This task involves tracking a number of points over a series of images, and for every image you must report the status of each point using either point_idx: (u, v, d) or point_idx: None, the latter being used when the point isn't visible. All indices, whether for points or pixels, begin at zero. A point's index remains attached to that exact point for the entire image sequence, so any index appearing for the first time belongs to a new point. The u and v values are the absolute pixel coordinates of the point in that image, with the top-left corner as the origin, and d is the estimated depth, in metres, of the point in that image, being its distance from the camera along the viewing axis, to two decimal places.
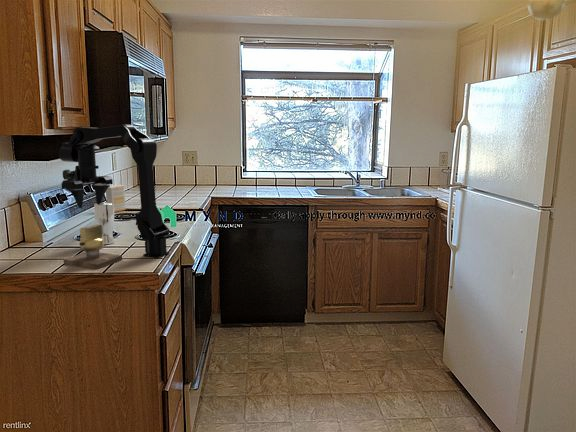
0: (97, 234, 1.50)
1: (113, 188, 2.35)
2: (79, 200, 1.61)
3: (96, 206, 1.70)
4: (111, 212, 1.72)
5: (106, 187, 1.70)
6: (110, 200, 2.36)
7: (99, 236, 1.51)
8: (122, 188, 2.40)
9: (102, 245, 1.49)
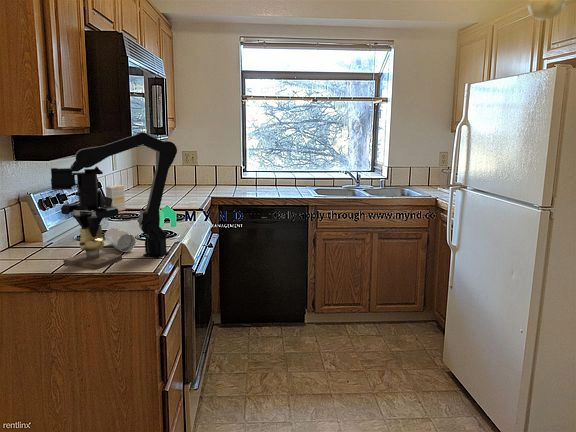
0: (97, 234, 1.50)
1: (113, 188, 2.35)
2: None
3: (116, 241, 1.60)
4: (123, 250, 1.65)
5: (89, 219, 1.44)
6: None
7: (99, 236, 1.51)
8: (122, 188, 2.40)
9: (102, 245, 1.49)
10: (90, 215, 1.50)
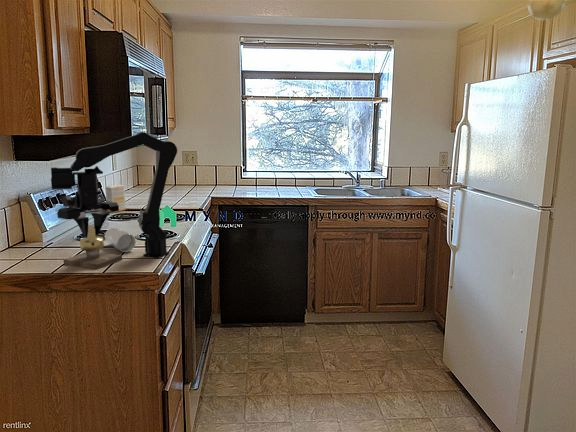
0: None
1: (113, 188, 2.35)
2: (84, 229, 1.46)
3: (116, 241, 1.60)
4: (123, 250, 1.65)
5: (105, 216, 1.50)
6: (110, 200, 2.36)
7: None
8: (122, 188, 2.40)
9: None
10: None
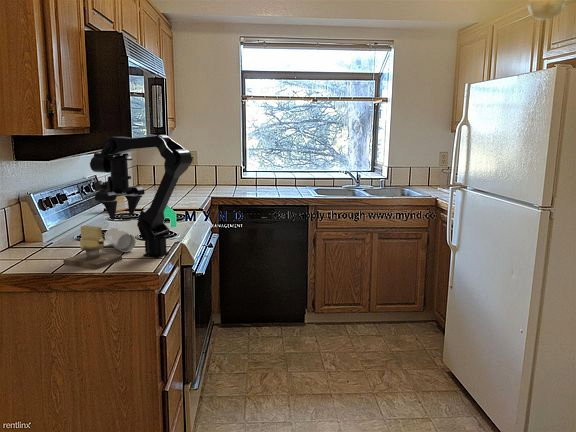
0: None
1: None
2: (112, 212, 1.56)
3: (116, 241, 1.60)
4: (123, 250, 1.65)
5: (139, 197, 1.66)
6: None
7: None
8: None
9: None
10: None
